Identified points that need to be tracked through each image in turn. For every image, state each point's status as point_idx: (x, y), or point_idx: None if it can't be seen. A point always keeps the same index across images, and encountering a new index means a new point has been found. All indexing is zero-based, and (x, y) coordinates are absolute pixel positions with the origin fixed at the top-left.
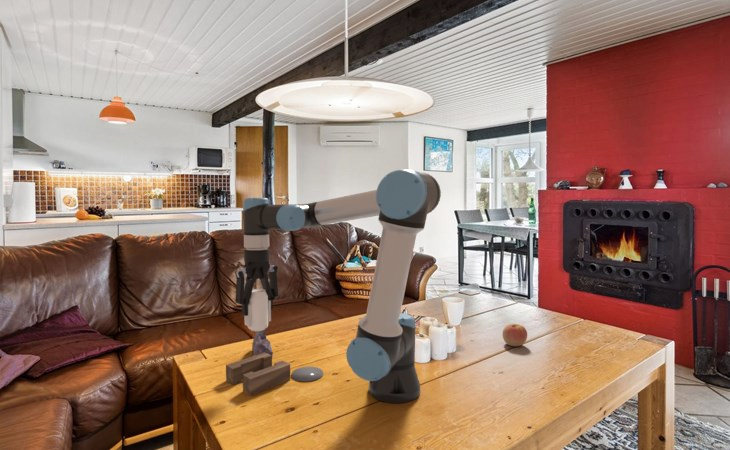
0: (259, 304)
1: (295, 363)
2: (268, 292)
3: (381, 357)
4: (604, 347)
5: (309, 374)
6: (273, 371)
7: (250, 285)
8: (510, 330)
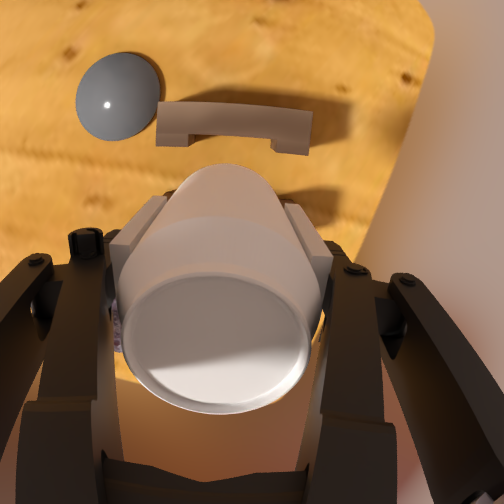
0: (261, 207)
1: (94, 182)
2: (99, 288)
3: None
4: None
5: (117, 85)
6: (226, 103)
7: (375, 390)
8: None
